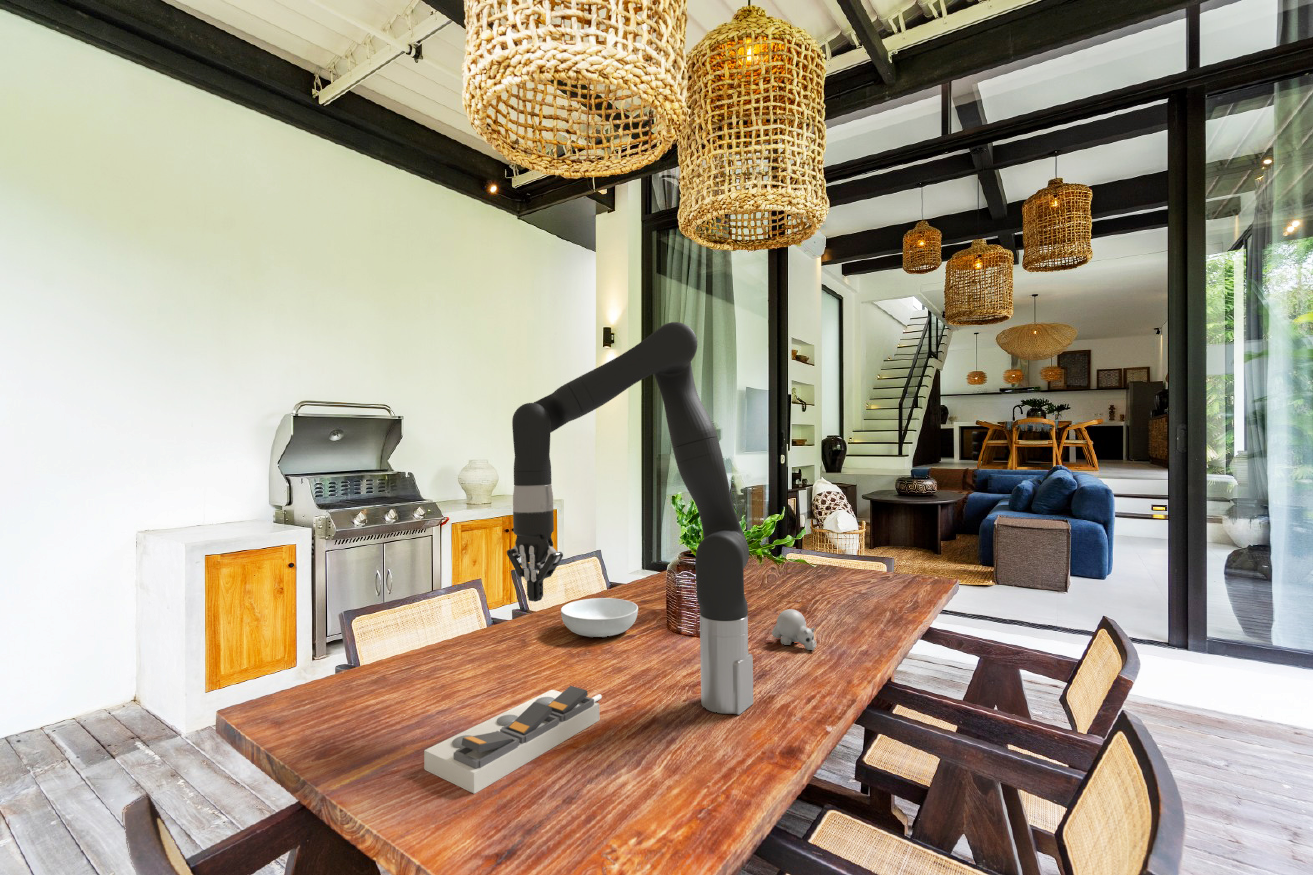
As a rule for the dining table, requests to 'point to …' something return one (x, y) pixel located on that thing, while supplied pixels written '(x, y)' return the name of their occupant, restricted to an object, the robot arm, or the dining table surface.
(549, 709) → the middle rocker
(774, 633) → the chubby cartoon animal
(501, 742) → the rocker far end
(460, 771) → the power strip
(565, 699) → the rocker near cord
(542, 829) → the dining table surface
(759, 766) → the dining table surface
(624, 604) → the serving bowl
